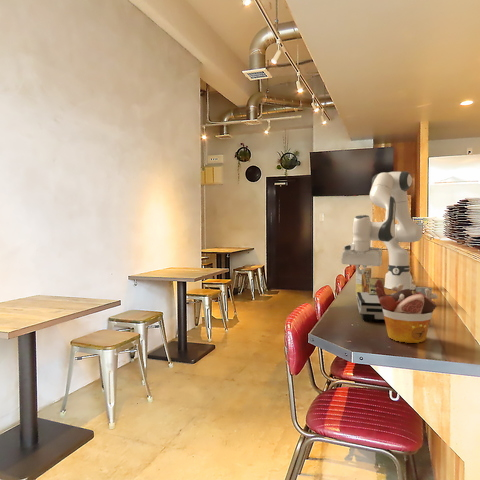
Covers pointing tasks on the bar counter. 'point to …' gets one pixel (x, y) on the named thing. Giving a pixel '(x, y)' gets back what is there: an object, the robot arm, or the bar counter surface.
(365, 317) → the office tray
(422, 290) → the grey small irregular piece
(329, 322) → the bar counter surface
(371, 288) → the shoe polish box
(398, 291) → the bucket of meat
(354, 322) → the bar counter surface
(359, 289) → the candy box
